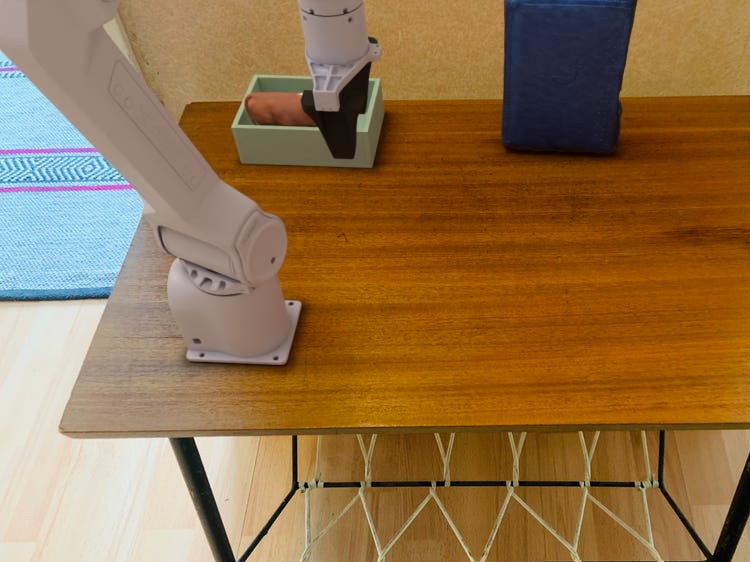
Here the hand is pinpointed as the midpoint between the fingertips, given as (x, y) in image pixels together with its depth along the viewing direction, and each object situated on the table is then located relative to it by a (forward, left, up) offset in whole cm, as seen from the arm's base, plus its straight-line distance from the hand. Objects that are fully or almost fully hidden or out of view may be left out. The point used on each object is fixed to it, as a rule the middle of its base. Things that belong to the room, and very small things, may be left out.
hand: (350, 133), depth 78 cm
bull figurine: (-8, +11, -10) cm, 17 cm away
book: (+22, +14, -11) cm, 28 cm away
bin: (-8, +14, -10) cm, 19 cm away
